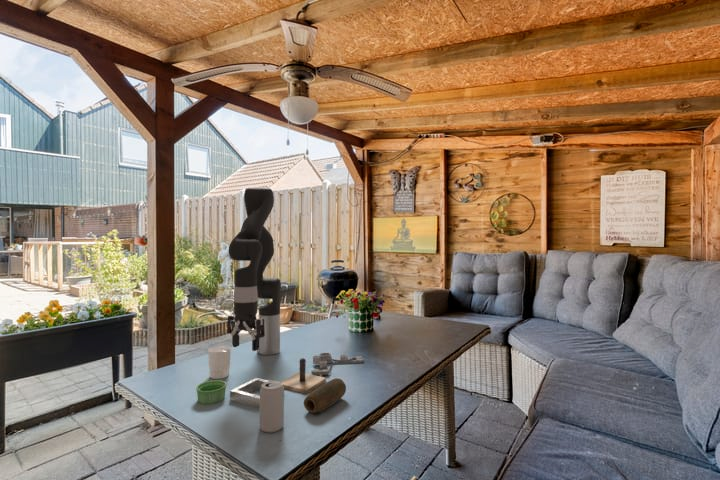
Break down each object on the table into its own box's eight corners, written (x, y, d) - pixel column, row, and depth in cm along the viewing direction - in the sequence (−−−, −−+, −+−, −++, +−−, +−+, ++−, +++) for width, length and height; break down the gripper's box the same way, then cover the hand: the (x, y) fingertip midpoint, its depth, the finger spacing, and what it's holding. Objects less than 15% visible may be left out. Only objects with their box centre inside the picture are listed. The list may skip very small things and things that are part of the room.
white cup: (235, 373, 139) (235, 347, 139) (221, 380, 132) (221, 353, 132) (218, 370, 142) (218, 344, 142) (203, 378, 135) (203, 350, 134)
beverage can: (262, 422, 103) (262, 379, 103) (285, 421, 104) (285, 379, 103) (257, 434, 97) (257, 389, 97) (282, 433, 97) (282, 388, 97)
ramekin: (232, 394, 121) (232, 381, 121) (215, 406, 112) (215, 392, 112) (208, 391, 123) (208, 378, 123) (189, 403, 114) (189, 389, 114)
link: (230, 400, 117) (230, 390, 117) (256, 386, 128) (256, 377, 127) (258, 408, 111) (258, 398, 111) (284, 393, 122) (284, 384, 122)
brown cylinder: (329, 394, 122) (329, 374, 122) (347, 398, 118) (347, 378, 118) (301, 413, 109) (301, 390, 109) (320, 419, 105) (320, 396, 105)
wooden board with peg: (278, 386, 127) (278, 360, 127) (298, 375, 138) (299, 351, 138) (306, 393, 122) (306, 366, 121) (326, 381, 132) (326, 356, 132)
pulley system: (294, 371, 144) (319, 379, 134) (294, 359, 144) (319, 366, 134) (343, 357, 164) (368, 363, 154) (343, 346, 165) (368, 351, 155)
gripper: (221, 299, 121) (221, 348, 121) (254, 303, 115) (253, 355, 115) (238, 296, 128) (238, 342, 128) (270, 299, 122) (270, 348, 122)
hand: (245, 348), depth 122 cm, fingers open, 8 cm apart
